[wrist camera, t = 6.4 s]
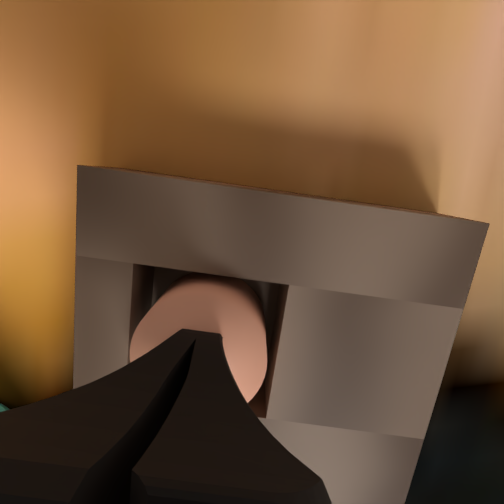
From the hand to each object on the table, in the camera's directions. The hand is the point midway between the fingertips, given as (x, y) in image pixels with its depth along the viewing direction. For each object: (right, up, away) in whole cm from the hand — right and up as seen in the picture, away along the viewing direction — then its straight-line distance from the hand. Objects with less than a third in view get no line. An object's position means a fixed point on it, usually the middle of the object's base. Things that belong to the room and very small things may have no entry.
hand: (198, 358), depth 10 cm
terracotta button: (0, +1, +3) cm, 3 cm away
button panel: (+1, -4, +5) cm, 7 cm away
